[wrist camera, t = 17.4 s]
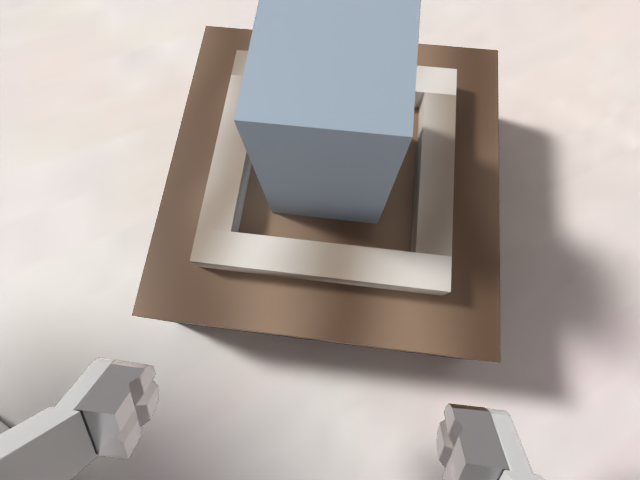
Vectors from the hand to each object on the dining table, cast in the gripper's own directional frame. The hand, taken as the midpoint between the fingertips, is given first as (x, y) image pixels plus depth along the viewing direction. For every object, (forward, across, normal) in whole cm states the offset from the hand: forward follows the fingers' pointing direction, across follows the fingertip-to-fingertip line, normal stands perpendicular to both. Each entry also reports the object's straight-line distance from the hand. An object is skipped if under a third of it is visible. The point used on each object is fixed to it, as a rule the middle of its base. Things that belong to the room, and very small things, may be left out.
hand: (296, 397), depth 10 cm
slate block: (+11, 0, -3) cm, 11 cm away
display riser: (+14, 0, 0) cm, 14 cm away
